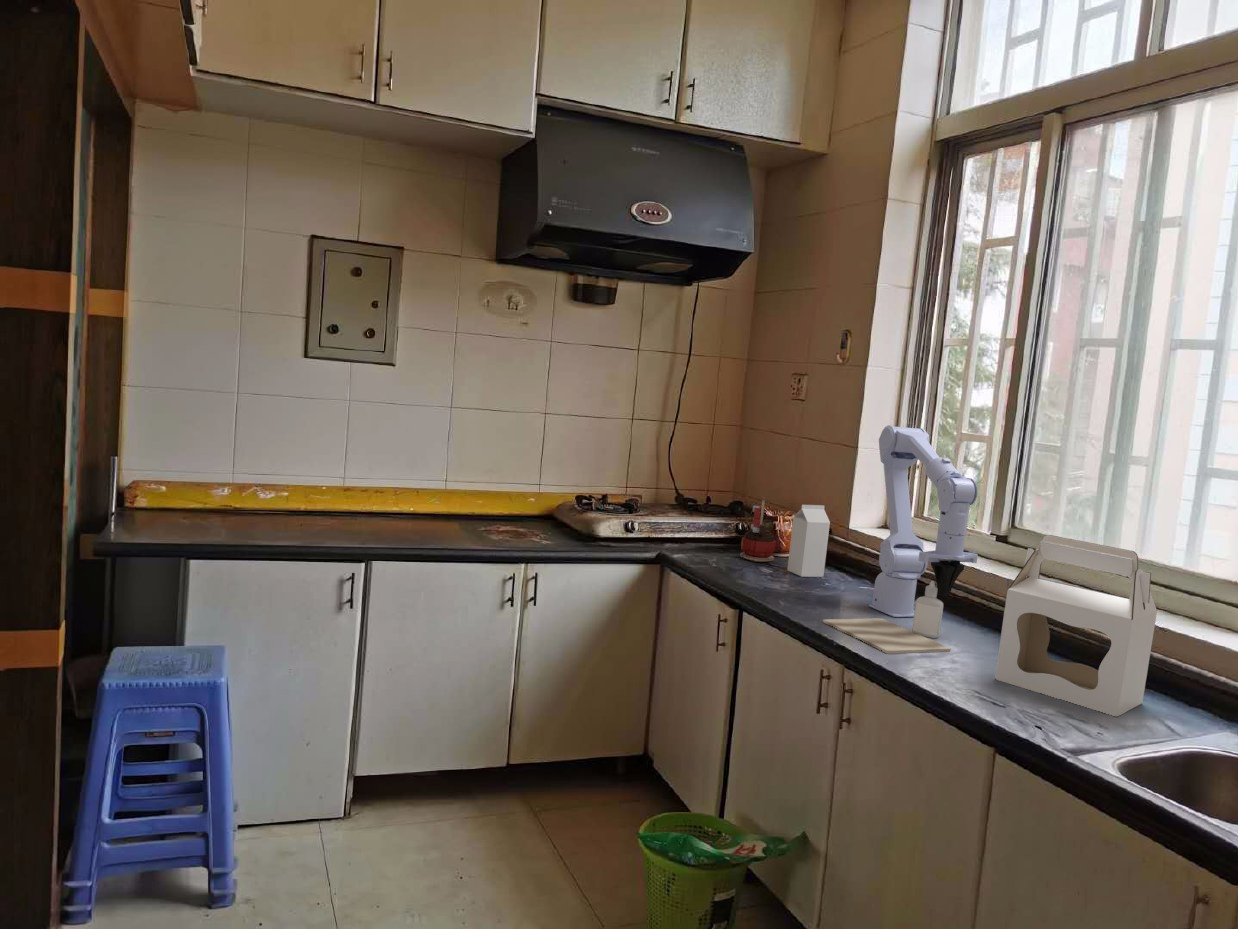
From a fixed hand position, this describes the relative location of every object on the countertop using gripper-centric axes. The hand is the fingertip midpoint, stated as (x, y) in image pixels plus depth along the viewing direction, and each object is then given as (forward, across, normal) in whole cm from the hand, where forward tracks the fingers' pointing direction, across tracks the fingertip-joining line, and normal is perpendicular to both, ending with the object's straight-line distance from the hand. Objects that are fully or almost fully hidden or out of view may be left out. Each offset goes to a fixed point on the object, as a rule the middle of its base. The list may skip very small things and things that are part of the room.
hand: (943, 594), depth 208 cm
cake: (+9, -2, +72) cm, 73 cm away
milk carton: (+9, +3, +55) cm, 56 cm away
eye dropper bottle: (+9, -3, 0) cm, 10 cm away
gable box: (+9, -1, -35) cm, 36 cm away
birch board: (+9, -14, 0) cm, 17 cm away
